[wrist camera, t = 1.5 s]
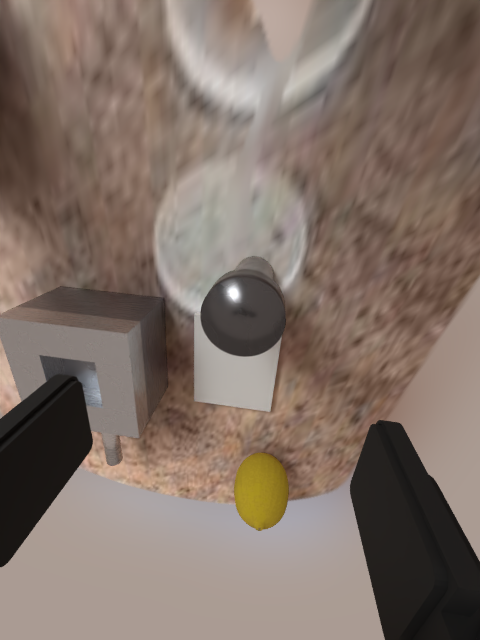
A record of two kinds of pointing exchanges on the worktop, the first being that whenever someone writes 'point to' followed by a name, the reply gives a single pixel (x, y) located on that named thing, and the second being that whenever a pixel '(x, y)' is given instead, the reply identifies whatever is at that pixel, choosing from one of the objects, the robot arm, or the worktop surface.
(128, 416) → the block
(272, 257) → the worktop surface
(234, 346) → the dark gray knob
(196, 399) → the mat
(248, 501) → the lemon
